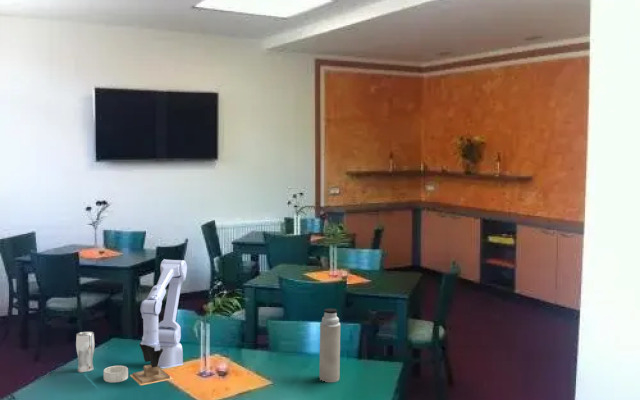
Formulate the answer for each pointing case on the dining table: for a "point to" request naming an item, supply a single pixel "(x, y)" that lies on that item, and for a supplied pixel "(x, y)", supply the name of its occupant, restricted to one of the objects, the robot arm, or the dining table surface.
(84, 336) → the beer glass
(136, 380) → the mat
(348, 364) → the dining table surface
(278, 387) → the dining table surface
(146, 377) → the lid
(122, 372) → the bowl
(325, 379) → the thermos bottle
